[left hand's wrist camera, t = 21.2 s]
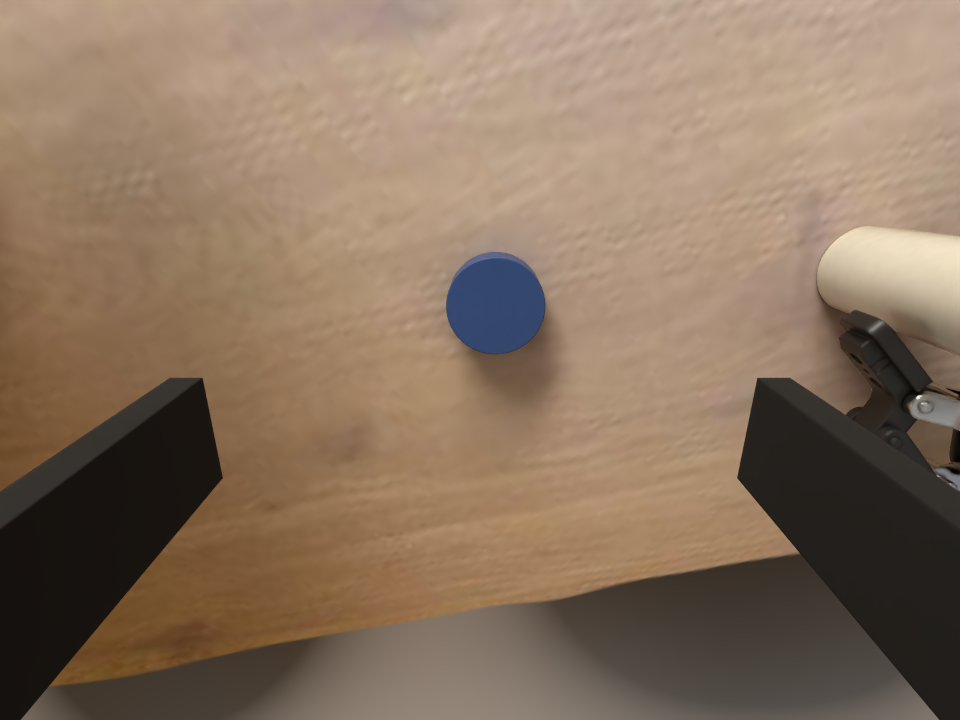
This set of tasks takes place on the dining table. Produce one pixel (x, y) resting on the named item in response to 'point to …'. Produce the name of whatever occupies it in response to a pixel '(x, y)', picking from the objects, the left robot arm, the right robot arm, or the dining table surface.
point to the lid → (495, 303)
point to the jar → (897, 281)
